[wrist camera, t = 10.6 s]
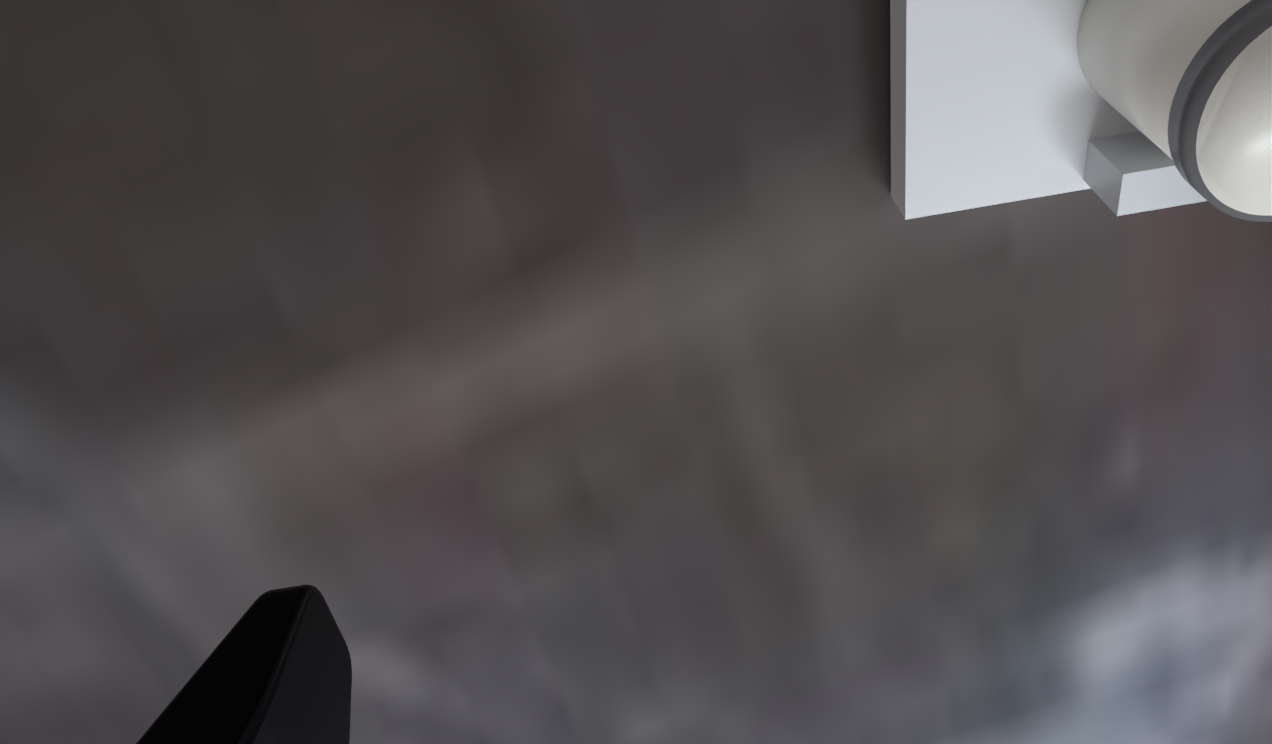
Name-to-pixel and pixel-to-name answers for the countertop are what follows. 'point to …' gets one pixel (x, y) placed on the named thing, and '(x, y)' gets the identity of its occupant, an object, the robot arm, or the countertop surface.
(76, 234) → the countertop surface
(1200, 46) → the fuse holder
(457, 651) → the countertop surface
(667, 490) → the countertop surface
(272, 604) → the robot arm
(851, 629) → the countertop surface
